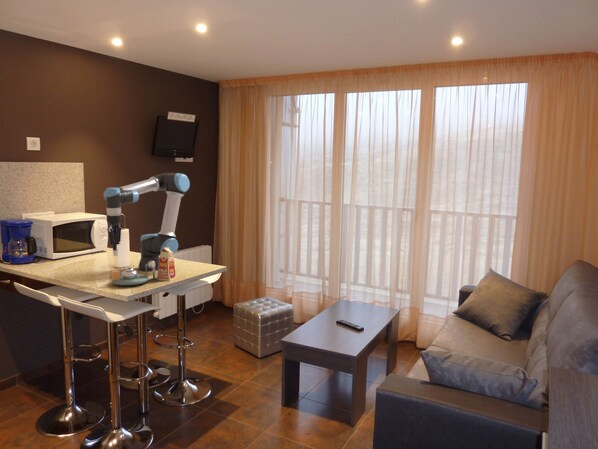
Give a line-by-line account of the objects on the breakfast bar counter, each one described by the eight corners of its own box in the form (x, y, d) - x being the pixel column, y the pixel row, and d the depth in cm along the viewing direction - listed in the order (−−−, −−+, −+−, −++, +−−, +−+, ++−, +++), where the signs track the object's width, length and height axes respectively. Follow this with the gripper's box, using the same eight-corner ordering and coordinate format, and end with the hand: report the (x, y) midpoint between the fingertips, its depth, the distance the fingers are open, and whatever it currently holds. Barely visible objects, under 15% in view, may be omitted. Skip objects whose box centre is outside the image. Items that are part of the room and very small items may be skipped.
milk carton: (170, 280, 274) (169, 247, 271) (155, 279, 276) (155, 247, 273) (177, 277, 283) (176, 245, 280) (163, 276, 285) (162, 244, 282)
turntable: (107, 279, 268) (107, 268, 267) (142, 274, 279) (141, 264, 279) (116, 286, 252) (116, 275, 251) (153, 282, 263) (152, 271, 263)
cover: (121, 277, 267) (120, 267, 266) (135, 275, 271) (134, 266, 270) (124, 280, 260) (124, 270, 259) (138, 278, 265) (138, 269, 264)
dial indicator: (149, 279, 275) (149, 259, 273) (158, 280, 275) (158, 260, 273) (145, 281, 270) (145, 261, 268) (155, 282, 269) (154, 262, 268)
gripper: (113, 213, 267) (115, 252, 271) (101, 216, 254) (104, 257, 258) (125, 213, 266) (127, 253, 270) (114, 216, 254) (116, 258, 257)
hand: (116, 255), depth 264 cm, fingers closed
